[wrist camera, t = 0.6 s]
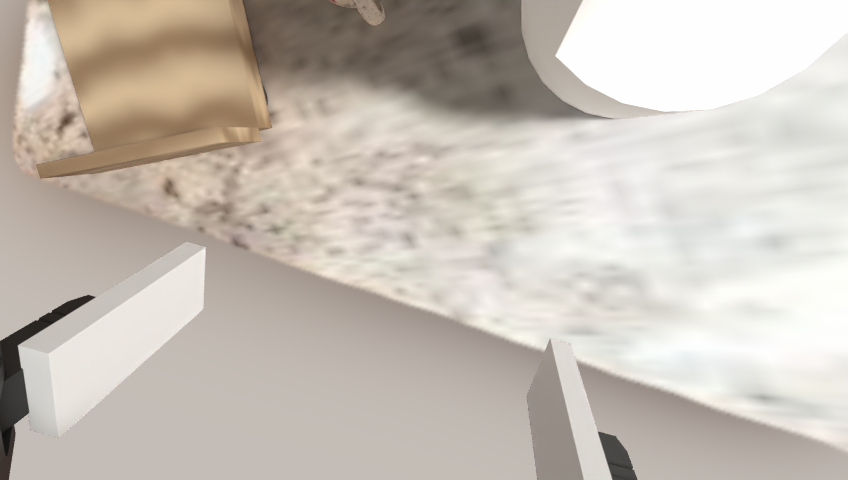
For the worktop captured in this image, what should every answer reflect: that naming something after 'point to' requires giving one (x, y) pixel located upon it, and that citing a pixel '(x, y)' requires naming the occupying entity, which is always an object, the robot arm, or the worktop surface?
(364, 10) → the teacup with lid
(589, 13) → the cylinder
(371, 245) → the worktop surface
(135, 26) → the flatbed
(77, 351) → the robot arm
